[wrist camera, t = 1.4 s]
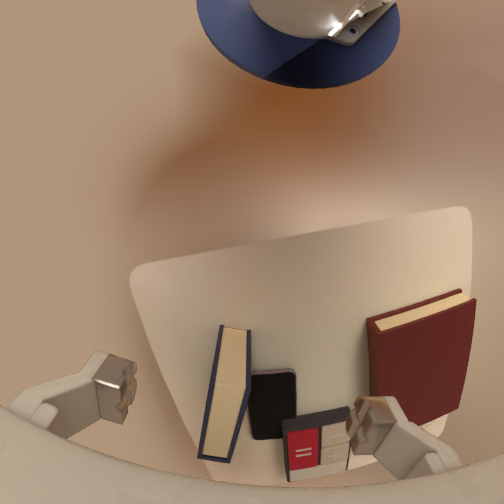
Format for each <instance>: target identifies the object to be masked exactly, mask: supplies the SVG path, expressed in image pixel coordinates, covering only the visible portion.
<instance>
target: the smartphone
mask: <svg viewBox="0 0 504 504" xmlns="http://www.w3.org/2000/svg"><path fill="white" fill-rule="evenodd" d="M296 400H297V392H296V373H295V371H294V370H293V369H277V370H266V371H253V372H251V392H250V396H249V399H248V403H247V407H248V413H249V420H250V426H251V433H252V437H253V438H254V439H255V440H268V439H280V438H283V435H282V424H281V421H282V420H284V419H292V418H297V403H296Z"/></svg>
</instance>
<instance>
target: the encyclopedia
mask: <svg viewBox="0 0 504 504" xmlns="http://www.w3.org/2000/svg"><path fill="white" fill-rule="evenodd" d="M475 310H476V299H475V298H473V299H469V298H468V297H466V296H465V295H464V294H462V289H460V288H459V289H457V290H454V291H451V292H448V293H446V294H443V295H440V296H437V297H434V298H431V299H428V300H425V301H422V302H419V303H416V304H413V305H410V306H407V307H404V308H400V309H397V310H394V311H391V312H387V313H384V314H381V315H377V316H374V317H370V318H367V334H368V351H369V379H370V396H371V397H382V396H393V397H395V398H396V400H397V402H398V403H399V405H400V407H401V409H402V410H403V412H404V414H405V416H406V418H407V419H408V421H409V422H413V423H415V424H416V425H418V426H420V425H423V424H425V423H427V422H430V421H432V420H434V419H437V418H439V417H441V416H443V415H445V414H448V413H450V412H452V411H454V410H456V409H458V406H459V403H460V399H461V394H462V390H463V386H464V382H465V377H466V371H467V367H468V361H469V356H470V350H471V343H472V336H473V329H474V320H475Z"/></svg>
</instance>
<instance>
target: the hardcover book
mask: <svg viewBox="0 0 504 504" xmlns="http://www.w3.org/2000/svg"><path fill="white" fill-rule="evenodd" d="M250 392H251V330H247V331H244V330H238V329H232V328H227V327H224V325H220V328H219V334H218V339H217V345H216V350H215V356H214V361H213V367H212V373H211V378H210V384H209V390H208V396H207V401H206V407H205V413H204V419H203V425H202V431H201V437H200V443H199V449H198V456H197V458H198V459H204V460H210V461H216V462H223V463H230V461H231V458H232V454H233V451H234V448H235V444H236V441H237V438H238V434H239V431H240V427H241V424H242V420H243V417H244V413H245V410H246V406H247V403H248V399H249V396H250Z"/></svg>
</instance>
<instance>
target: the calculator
mask: <svg viewBox="0 0 504 504" xmlns="http://www.w3.org/2000/svg"><path fill="white" fill-rule="evenodd" d="M349 412H350V409H349V407H343V408H338V409H333V410H329V411H324V412H318V413H313V414H308V415H302V416H297V418H292V419H284V420H282V421H281V424H282V435H283V446H284V457H285V458H284V459H285V470H286V475H287V481H288V482H295V481H301V480H307V479H313V478H318V477H322V476H327V475H332V474H336V473H341V472H344V471H346V470H347V468H348V462H349V455H350V448H351V445H350V441H351V440H352V438H351V437H350V436H348V435H347V432H346V427H345V424H346V418H347V416H348V414H349Z"/></svg>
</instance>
